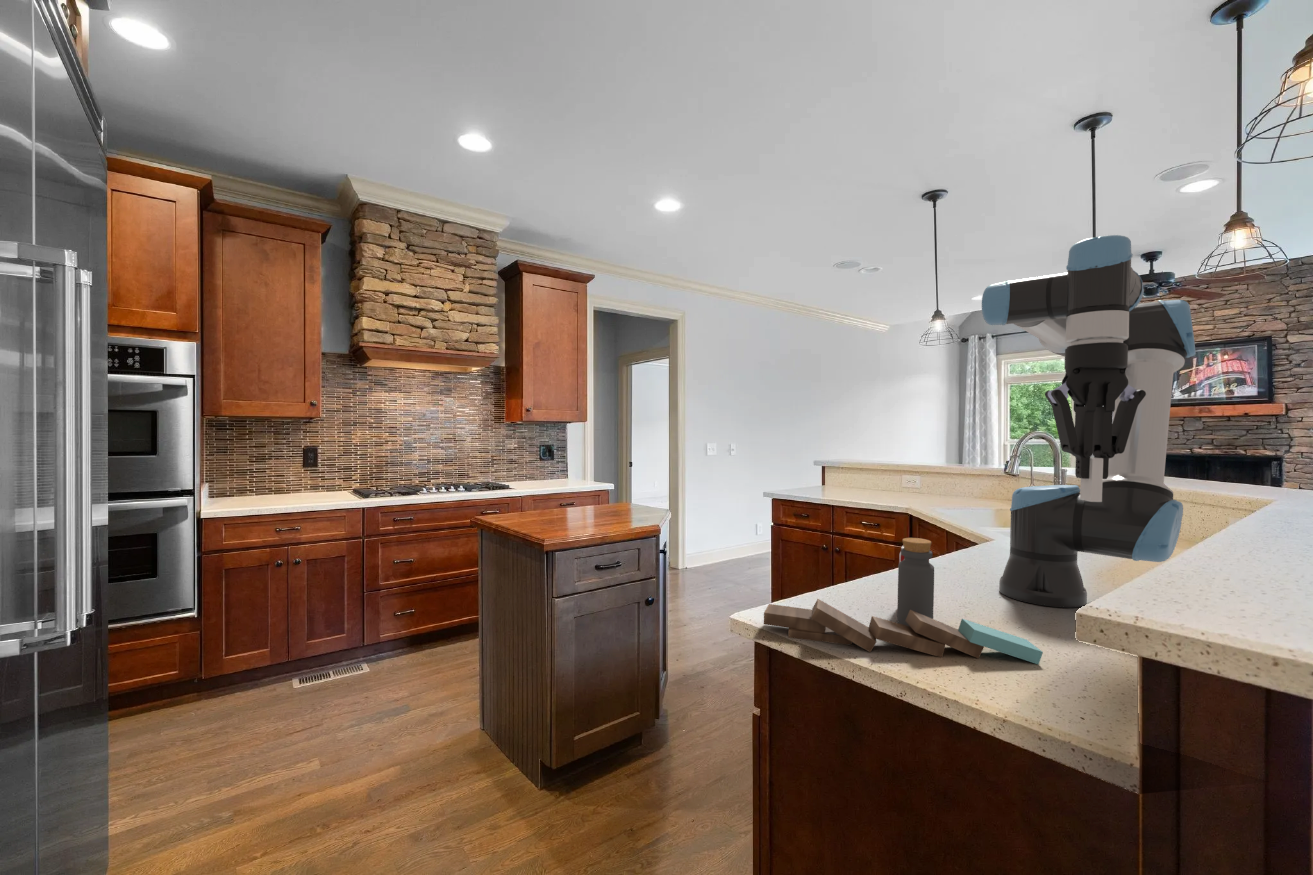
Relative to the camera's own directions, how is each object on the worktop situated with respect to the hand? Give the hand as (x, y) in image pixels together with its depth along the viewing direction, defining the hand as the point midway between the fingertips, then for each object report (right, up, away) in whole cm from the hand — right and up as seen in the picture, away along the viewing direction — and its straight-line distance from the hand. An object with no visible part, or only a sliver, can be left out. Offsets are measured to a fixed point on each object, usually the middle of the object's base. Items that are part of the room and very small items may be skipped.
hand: (1090, 500), depth 87 cm
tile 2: (-16, -23, +3) cm, 28 cm away
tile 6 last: (-33, -24, +8) cm, 42 cm away
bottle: (-20, -24, +16) cm, 35 cm away
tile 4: (-31, -23, +5) cm, 39 cm away
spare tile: (-8, -23, +1) cm, 25 cm away
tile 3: (-21, -23, +4) cm, 32 cm away
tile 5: (-37, -22, +10) cm, 44 cm away
